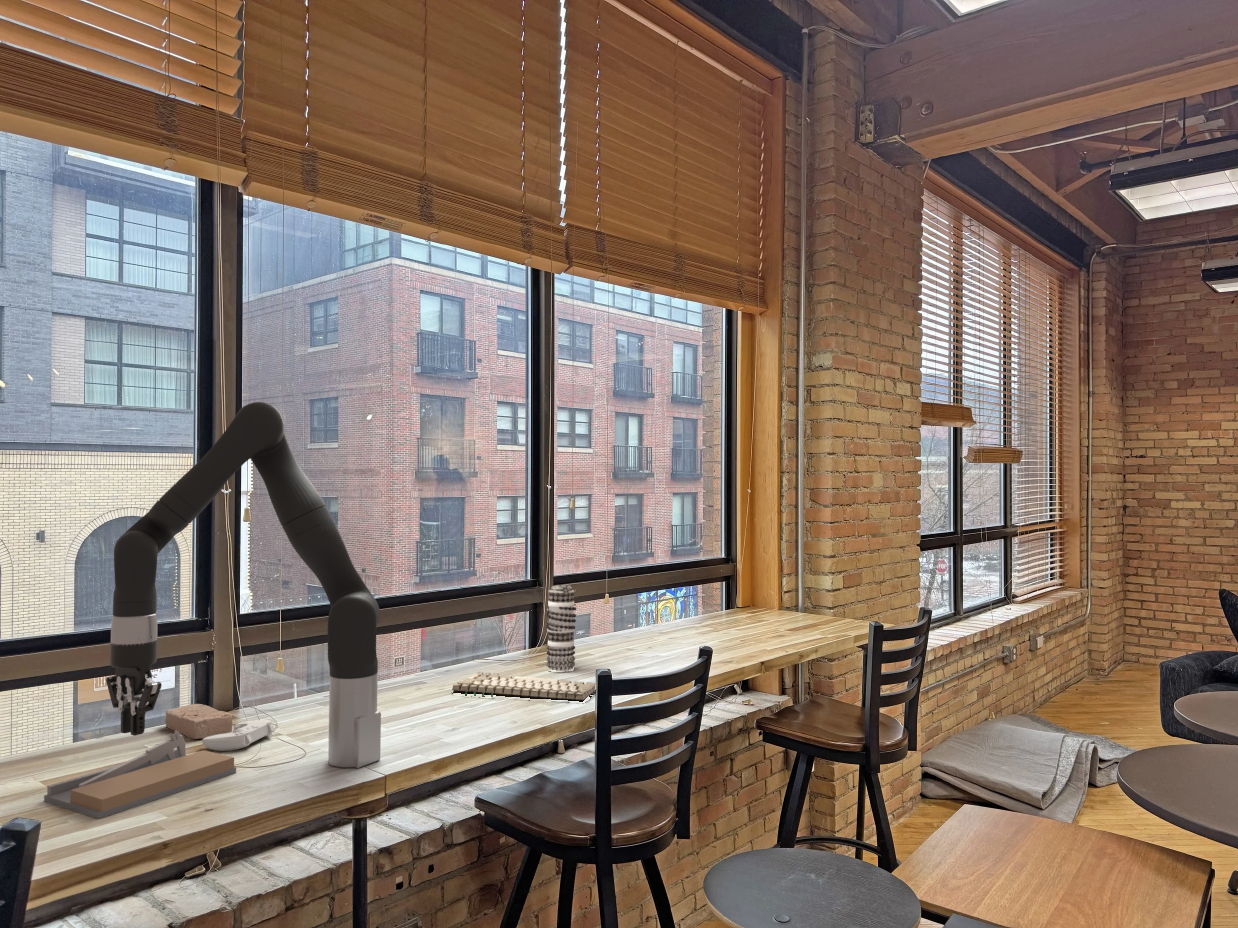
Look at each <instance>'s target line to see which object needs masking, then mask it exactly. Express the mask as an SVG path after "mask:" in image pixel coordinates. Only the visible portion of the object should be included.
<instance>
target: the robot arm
mask: <svg viewBox="0 0 1238 928" xmlns="http://www.w3.org/2000/svg"><path fill="white" fill-rule="evenodd" d="M249 460H251V462H252V464H253V466H254V467H255V468H256V470H257V471H258V473H259V474H260V476H261V478H262V480H263V482H264V485H265V488H266V490H267V493H268V496H269V500H270V502H271V505H272V507H273V509H274V512H275V514H276V517H277V518H278V519H277V520H278V521H279V523H280V525H281V527H282V529H283V532H284V533H285V535H286V537H287V539H288V540H289V543H290V544H291V546H292V547H293V549H294V550H295V552H296V553H297V555H298V556H299V558H301V560H302V561H303V562H304V563H305V565H306V566H307V567H308V568H309V569H310V570H311V572H312V573H313V574H314V575H315V576H316V578H317V580H318V581H319V583H320V584H321V587H322V589H323V591H324V593H325V595H326V598H327V600H328V602H329V604H330V610H329V613H328V619H327V661H328V666H329V667H328V668H329V684H328V686H329V690H328V691H329V692H328V693H329V695H328V698H329V701H328V751H327V752H328V755H327V757H328V760H327V762H328V764H329V765H330V766H333V767H336V768H357V769H359V768H361V767H365V766H367V765H369V764H372V763H375V762H376V761H380V760H381V750H382V749H381V747H382V746H381V743H382V742H381V741H382V740H381V737H382V736H381V735H382V733H381V732H382V731H381V730H382V713H381V712H380V711H378V685H379V683H378V681H379V680H378V678H379V677H378V675H379V674H378V672H379V671H378V670H379V662H378V661H379V660H378V656H377V626H378V624H379V621H380V618H381V611H380V606H379V604H378V602H377V600H376V598H375V597H374V595H373V594H372V592H371V591H370V589H369V588H368V587H367V585H366V583H365V582H364V580H363V579H362V578H361V577H362V576H360V574H359V572H358V571H357V569H356V568H355V566H354V564H353V562H352V560H351V557H350V554H349V552H348V550H347V548H346V543H344V540H343V537H342V536H341V533H340V531H339V529H338V527H337V525H336V523H335V521H334V518H333V516H332V514H331V513H330V510H329V508H328V506H327V505H326V503H325V501H324V500H323V498H322V496H321V494H320V493H319V492H318V490H317V489H316V487H315V486H314V484H313V483H312V482H311V480H310V479H309V478H308V476H307V475H306V474H305V473H304V471H303V469H301V467H300V465H299V463H298V462H297V460H296V457H295V455H294V453H293V451H292V448H291V445H290V443H289V442H288V439H287V435H286V432H285V422H284V418H283V416H282V414H281V412H280V411H279V409H278V408H277V407H275V406H274V405H273V404H270V403H269V402H264V401H254V402H250V403H248V404H246V405H244V406H242V407H241V408H240V409H239V410H238V411H237V413H236V415H235V416H234V418H233V419H232V421H231V422H230V423H229V424H228V426H227V428H226V430H225V431H224V432H223V433H222V434H221V435H220V437H219V439H218V440H217V441H216V442H215V443H214V445H212V447H210V449H209V450H207V452H206V454H204V455H203V456H202V458H200V460H198V461H197V462H196V464H194V465H193V466H192V467H191V468H190V469H189V470H188V471H187V472H186V473H185V474H184V475H182V476H181V477H180V478H179V479H178V480H177V481H176V482H175V483H174V484H173V485H172V486H171V487H170V488H169V489H168V490H167V491H166V492H165V493H164V494H163V495H161V497H160V498H159V499H158V500H157V501H156V502H155V503H154V504H153V506H152V507H150V509H149V510H148V512H147V513H146V514H145V515H143V516H141V518H140V519H139V520H137V521H136V522H135V523H134V524H133V525H131V527H129V528H128V529H127V530H126V531H125V532H124V533H123V534H122V535H121V536H120V537H119V538H118V539H117V541H116V542H115V544H114V547H113V569H114V570H113V571H114V572H113V573H114V591H113V597H112V598H113V601H112V621H111V627H110V659H109V661H110V663H109V665H110V666H111V667H112V668H116V670H115V674H114V675H112V676H107V677H106V679H105V681H106V682H105V683H106V685H107V690H108V693H109V697H110V701H111V705H112V708H114V709H117V711H118V713H120V732H121V733H122V734H128V733H130V735H131V736H139V735H143V734H144V732H145V725H146V713H148V712H150V711H153V710H154V709H155V706H156V703H157V700H158V697H159V696H160V695H159V694H160V691H161V689H162V682H161V681H154V680H153V672H152V669H151V667H152V665H154V664H155V663H156V662H157V660H158V617H157V603H158V602H157V598H158V597H157V587H156V581H157V579H156V578H157V566H158V554H159V553H160V552H161V551H162V550H163V549H164V548H165V547H166V545H168V544H169V542H170V541H171V540H172V539H173V538H175V536H177V534H179V533H180V532H182V531H183V530H185V529H186V528H187V527H188V526H190V524H191V523H192V522H193V521H194V520H195V519H196V518H197V517H198V516H199V515H200V514H201V513H202V512H203V511H204V510H205V509H206V508H207V506H208V505H210V503H211V502H212V501H213V500H214V498H215V497H216V496H217V495H218V494H219V492H220V491H221V489H223V487H224V486H225V484H226V483H227V482H228V481H229V480H230V479H231V478H232V476H233V475H234V474H235V473H236V472H237V471H238V470H239V469H240V468H241V467H242V466H243V465H244V464H245V463H246V462H247V461H249Z"/></svg>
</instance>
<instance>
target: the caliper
mask: <svg viewBox="0 0 1238 928" xmlns="http://www.w3.org/2000/svg"><path fill="white" fill-rule="evenodd" d="M169 737H170V739H166V740H164V741H162V742H159V743H158V744H156V745H153V746H152V747H149V748H147V749H145V752H144V753H141V754H140V755H138V756H136V757H133V758H131V759H129V760H127V761H125V762H123V763H121V764H118V765H119V766H118V765H115V766H116V767H115V766H113V767H114V768H112V769H110V770H108V771H106V772H104V773H102V774H100V775H98V776H95V777H93V778H91V779H89V780H87V781H85V782H83V783H81V784H79V787H82V786H86V785H89V784H92V783H96V782H99V781H102V780H106V779H109V778H113V777H116V776H119V775H121V774H124V773H126V772H128V771H130V770H132V769H134V768H136V767H138V766H140V765H142V764H144V763H146V762H148V763H150V764H153V763H155V762H156V761H159V760H161V759H162V758H163V757H164V755H166V756H167V758H168V760H173V759H176V757H175V753H174V749H177V752H178V755H179V757H183V756H185V755H186V742H185V736H184V735H182V734H180V733H179V731H177V730H175V731H174V733H170V732H169Z"/></svg>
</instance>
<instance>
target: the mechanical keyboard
mask: <svg viewBox="0 0 1238 928" xmlns="http://www.w3.org/2000/svg"><path fill="white" fill-rule="evenodd" d="M596 683H597V682H592V681H591V682H589V681H587V682H586V683H585V682H584V681H579V680H578V681H577V680H574V681H573V682H572V680H565V679H561V680H560V681H559V679H557V678H545V677H534V676H533V677H532V676H530V677H529V676H517V675H515V676H514V677H513V676H511V675H501V676H500V674H499V673H495V672H493V673H492V674H491V672H480V671H477V673H473V675H470V676H469V677H468V678H465V679H463V680H460V681H457V682H456V683H454V684H452V685H453V686H452V689H451V690H452V692H453V693H461V694H465V696H467V694H474V696H476V694H482V697H485V696H484V695H491V697H493V695H496V696H505V697H520V698H530V699H551V700H568V701H579V702H583V701H584V700H585V699H586V698H587V697H588V696H589V697H590V698H591V697H592V696H590V695H594V696H595V693H596V692H595V685H596ZM594 692H595V693H594ZM593 693H594V694H593ZM592 698H593V697H592ZM592 698H591V699H592Z"/></svg>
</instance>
